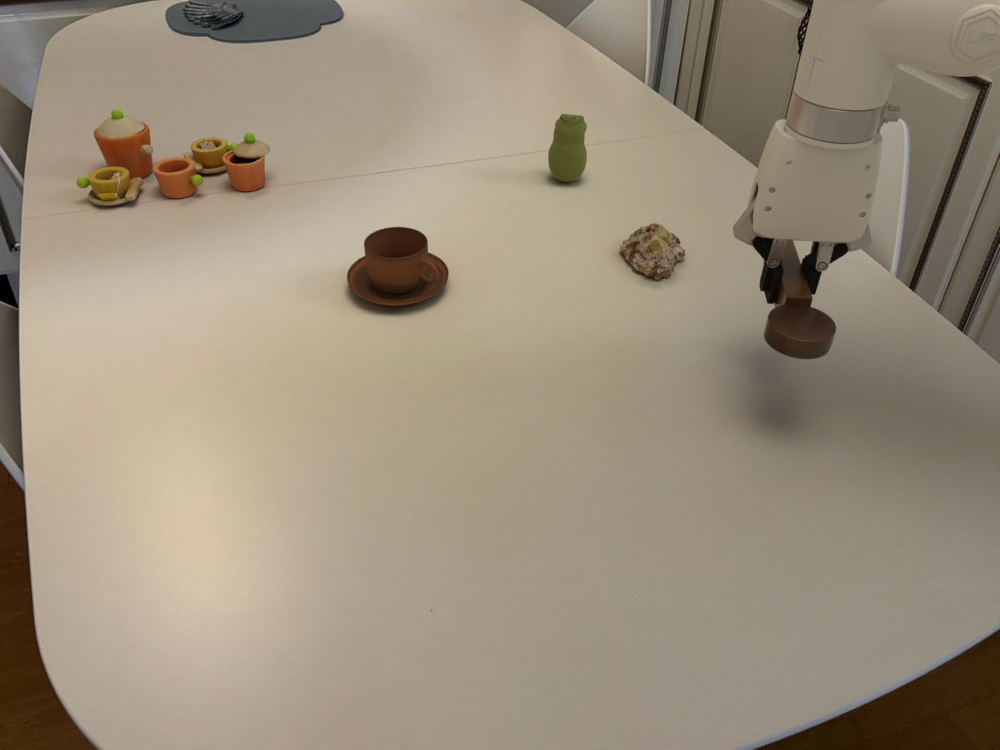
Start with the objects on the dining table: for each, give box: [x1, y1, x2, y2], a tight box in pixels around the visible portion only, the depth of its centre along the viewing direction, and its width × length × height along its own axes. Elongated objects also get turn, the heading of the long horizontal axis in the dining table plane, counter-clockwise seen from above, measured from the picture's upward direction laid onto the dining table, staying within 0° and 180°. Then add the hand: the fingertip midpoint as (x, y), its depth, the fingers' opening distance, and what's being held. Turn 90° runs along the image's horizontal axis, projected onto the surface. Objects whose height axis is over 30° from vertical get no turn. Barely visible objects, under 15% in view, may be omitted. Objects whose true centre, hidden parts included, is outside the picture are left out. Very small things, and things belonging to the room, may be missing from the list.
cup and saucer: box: [346, 226, 450, 307], centre depth 101 cm, size 12×12×6 cm
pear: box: [547, 113, 588, 183], centre depth 123 cm, size 6×5×10 cm
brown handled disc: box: [762, 240, 837, 360], centre depth 82 cm, size 16×6×3 cm, turn 174°
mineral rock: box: [619, 222, 686, 281], centre depth 108 cm, size 11×4×8 cm
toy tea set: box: [76, 108, 271, 206], centre depth 121 cm, size 26×16×10 cm, turn 103°
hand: (784, 296), depth 84 cm, fingers closed on brown handled disc, 2 cm apart
